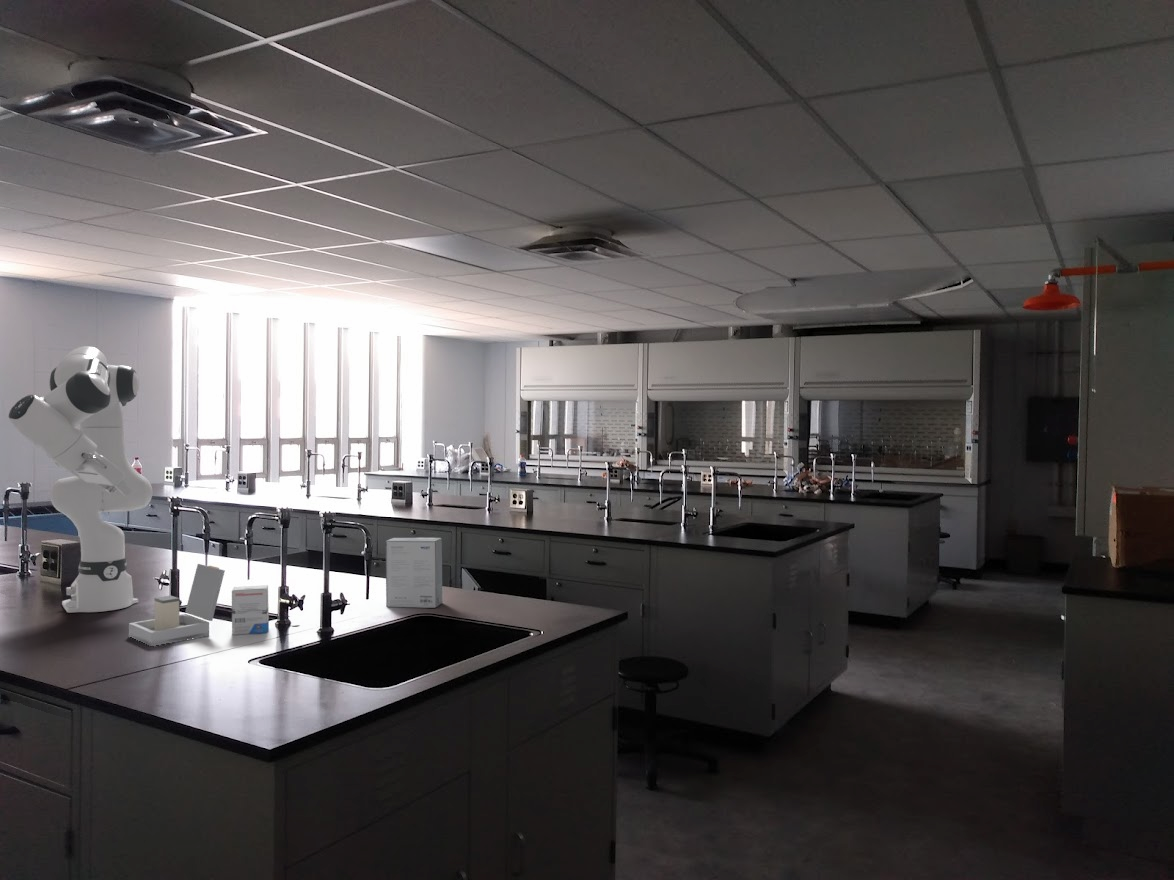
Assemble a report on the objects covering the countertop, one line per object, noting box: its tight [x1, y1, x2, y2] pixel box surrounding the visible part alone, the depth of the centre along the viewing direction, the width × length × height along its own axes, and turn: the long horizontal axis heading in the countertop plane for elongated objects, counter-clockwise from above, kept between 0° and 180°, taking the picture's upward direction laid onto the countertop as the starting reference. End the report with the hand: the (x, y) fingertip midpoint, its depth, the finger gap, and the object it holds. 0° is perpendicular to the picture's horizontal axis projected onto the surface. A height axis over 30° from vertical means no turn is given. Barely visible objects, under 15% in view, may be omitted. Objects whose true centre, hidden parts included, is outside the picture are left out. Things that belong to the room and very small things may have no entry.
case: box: [128, 613, 210, 647], centre depth 209 cm, size 14×14×4 cm
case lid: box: [184, 563, 226, 622], centre depth 216 cm, size 14×13×2 cm
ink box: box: [231, 584, 270, 636], centre depth 214 cm, size 9×5×12 cm, turn 106°
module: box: [154, 595, 180, 631], centre depth 209 cm, size 5×4×8 cm
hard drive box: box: [385, 537, 443, 609], centre depth 247 cm, size 16×8×20 cm, turn 84°
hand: (121, 492), depth 202 cm, fingers open, 8 cm apart
